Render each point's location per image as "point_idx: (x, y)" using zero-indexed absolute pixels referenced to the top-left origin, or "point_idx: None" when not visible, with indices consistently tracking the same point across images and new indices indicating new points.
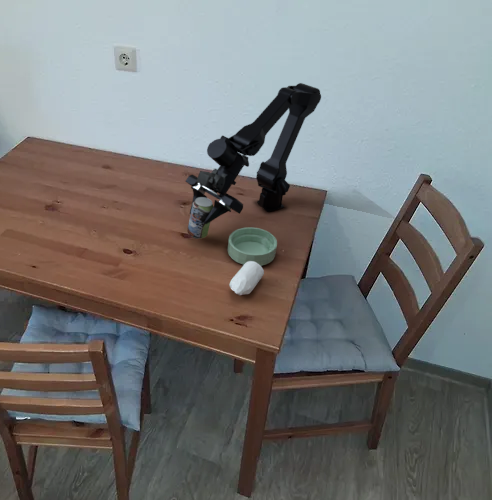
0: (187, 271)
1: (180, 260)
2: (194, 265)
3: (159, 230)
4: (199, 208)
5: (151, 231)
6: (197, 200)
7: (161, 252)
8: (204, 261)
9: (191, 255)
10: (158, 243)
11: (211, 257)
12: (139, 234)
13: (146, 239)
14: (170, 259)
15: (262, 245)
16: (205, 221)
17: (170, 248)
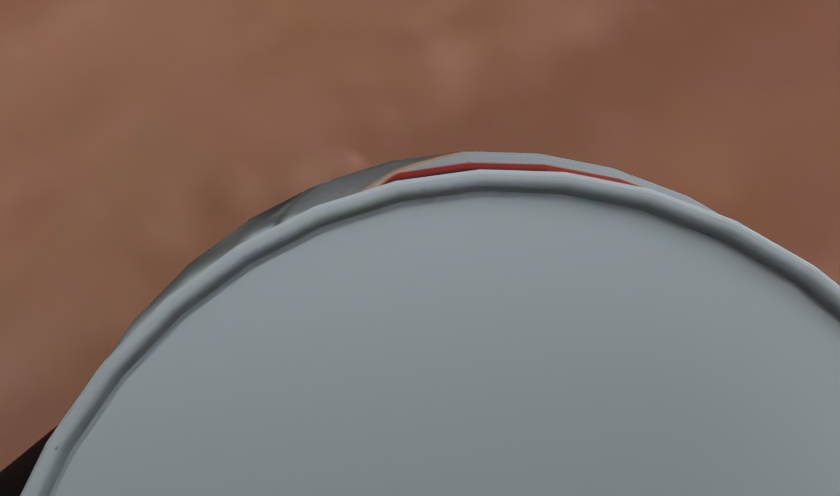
0: (63, 46)
1: (245, 87)
2: (88, 151)
3: (817, 200)
4: (263, 216)
5: (833, 123)
6: (784, 403)
7: (461, 16)
8: (67, 276)
9: (243, 223)
10: (608, 70)
11: (67, 389)
12: (830, 7)
13: (723, 16)
14: (318, 23)
15: None
16: None
17: (471, 117)
